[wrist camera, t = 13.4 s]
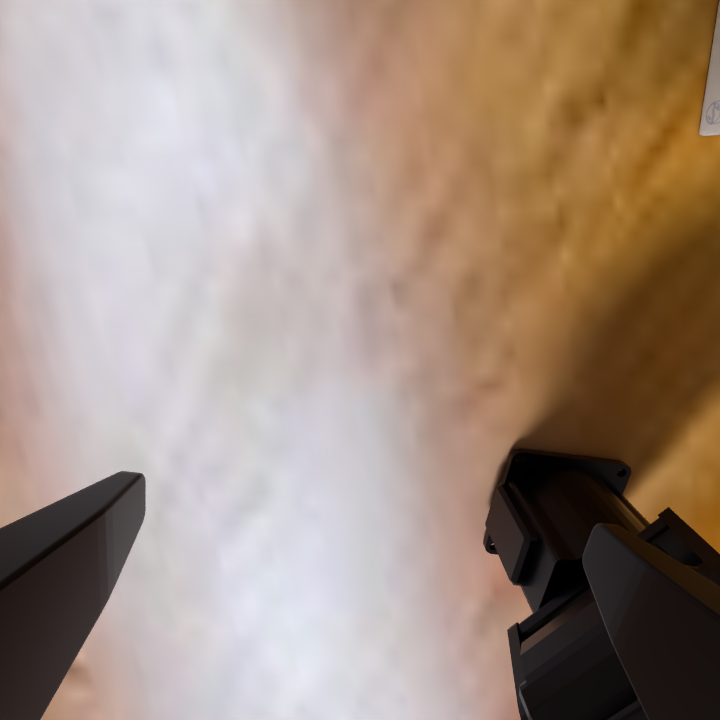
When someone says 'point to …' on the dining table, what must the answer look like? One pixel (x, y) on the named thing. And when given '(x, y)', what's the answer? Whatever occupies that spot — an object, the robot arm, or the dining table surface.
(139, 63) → the dining table surface
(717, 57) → the light bulb box
